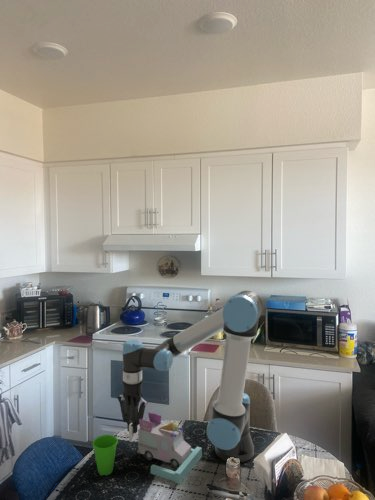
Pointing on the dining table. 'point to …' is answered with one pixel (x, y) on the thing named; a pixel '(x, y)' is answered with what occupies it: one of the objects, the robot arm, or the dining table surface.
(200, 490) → the dining table surface
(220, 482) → the dining table surface
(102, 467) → the cup
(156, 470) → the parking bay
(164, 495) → the dining table surface
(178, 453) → the toy vehicle
